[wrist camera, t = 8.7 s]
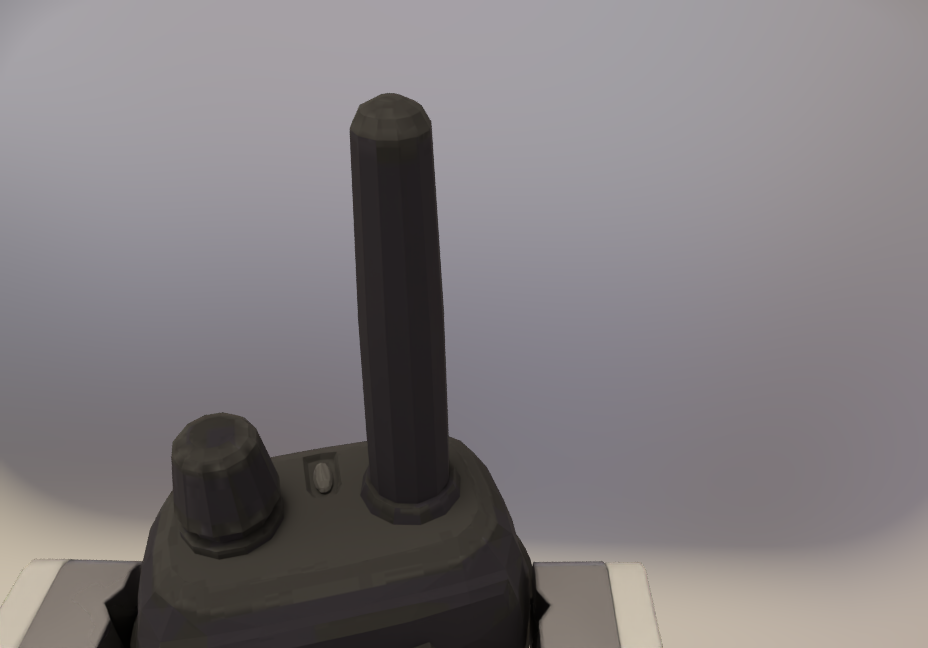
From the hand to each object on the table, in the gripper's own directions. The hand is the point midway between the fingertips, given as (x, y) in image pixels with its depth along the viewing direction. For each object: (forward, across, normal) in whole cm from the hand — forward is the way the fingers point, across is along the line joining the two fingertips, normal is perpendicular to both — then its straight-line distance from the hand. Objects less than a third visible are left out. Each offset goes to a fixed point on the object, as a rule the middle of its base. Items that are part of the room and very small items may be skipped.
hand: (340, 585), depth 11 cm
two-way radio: (-1, 0, +8) cm, 8 cm away
